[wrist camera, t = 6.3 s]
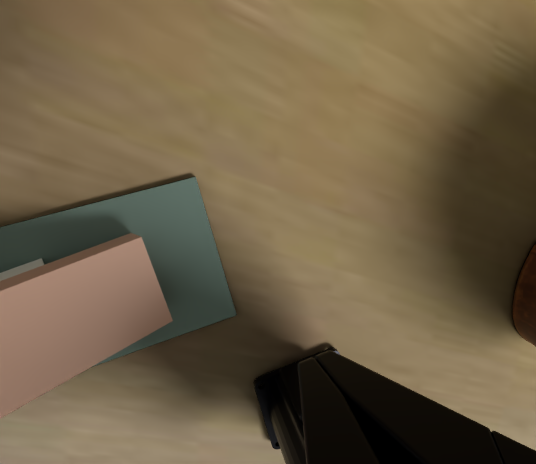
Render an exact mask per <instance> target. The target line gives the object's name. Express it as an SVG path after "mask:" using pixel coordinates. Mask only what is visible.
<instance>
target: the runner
mask: <svg viewBox="0 0 536 464" xmlns="http://www.w3.org/2000/svg"><path fill="white" fill-rule="evenodd" d="M129 233H133V234H135V235H138V236H141V237H142V240H143V242H144V245H145V248H146V250H147V253H148V256H149V258H150V261H151V264H152V266H153V269H154V272H155V274H156V277H157V280H158V282H159V285H160V288H161V290H162V293H163V296H164V298H165V301H166V304H167V306H168V309H169V312H170V314H171V317H172V320H173V321H172V322H170V323H168V324H166V325H165V326H163V327H161V328H159V329H157V330H156V331H154V332H152V333H150V334H149V335H147V336H145V337H143V338H142V339H140V340H138V341H136V342H135V343H133V344H131V345H129V346H127V347H126V348H124V349H122V350H120V351H119V352H117V353H115V354H113V355H112V356H110V357H108V358H106V359H105V360H103V361H101V362H99V363H97V364H96V365H98V364H101V363H104V362H107V361H110V360H112V359H115V358H118V357H121V356H124V355H126V354H129V353H132V352H135V351H138V350H140V349H143V348H146V347H149V346H152V345H154V344H157V343H160V342H163V341H166V340H168V339H171V338H174V337H177V336H180V335H182V334H185V333H188V332H191V331H194V330H196V329H199V328H202V327H205V326H208V325H210V324H213V323H216V322H219V321H222V320H224V319H227V318H230V317H233V316H236V315H237V314H236V311H235V308H234V304H233V301H232V298H231V294H230V291H229V287H228V284H227V281H226V277H225V274H224V271H223V267H222V264H221V261H220V257H219V254H218V251H217V247H216V244H215V240H214V237H213V234H212V230H211V227H210V224H209V220H208V217H207V214H206V210H205V207H204V204H203V200H202V197H201V193H200V190H199V187H198V183H197V180H196V177H192V178H188V179H184V180H180V181H176V182H172V183H169V184H165V185H161V186H157V187H153V188H149V189H145V190H142V191H138V192H134V193H130V194H126V195H122V196H119V197H115V198H111V199H107V200H103V201H99V202H95V203H92V204H88V205H84V206H80V207H76V208H72V209H68V210H65V211H61V212H57V213H53V214H49V215H45V216H41V217H38V218H34V219H30V220H26V221H22V222H18V223H15V224H11V225H7V226H3V227H0V273H1V272H4V271H7V270H10V269H12V268H15V267H18V266H21V265H24V264H26V263H29V262H32V261H35V260H38V259H41V258H42V260H43V262H44V264H48V263H51V262H53V261H56V260H59V259H61V258H64V257H67V256H70V255H72V254H75V253H78V252H80V251H83V250H86V249H89V248H91V247H94V246H97V245H99V244H102V243H105V242H107V241H110V240H113V239H116V238H118V237H121V236H124V235H126V234H129ZM96 365H94V366H96ZM92 367H93V366H92Z"/></svg>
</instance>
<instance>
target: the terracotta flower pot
mask: <svg viewBox="0 0 536 464" xmlns="http://www.w3.org/2000/svg"><path fill="white" fill-rule="evenodd" d="M513 320H514V324H515V327H516V329H517V331H518V332H519V334H520V335H521V336H522V338H524V339H525V340H526V341H528V342H530V343H532V344H533V345H535V346H536V244H535V245H534V247H533V248H532V249H531V251H530V253H529V256H528V257H527V259H526V261H525V263H524V265H523V267H522V270H521V272H520V275H519V278H518V281H517V285H516V289H515V294H514V300H513Z"/></svg>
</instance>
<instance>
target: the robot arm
mask: <svg viewBox="0 0 536 464" xmlns="http://www.w3.org/2000/svg"><path fill="white" fill-rule="evenodd" d="M261 383H263V385H260V384H261ZM259 385H260V386H259ZM254 388H255V391H256V394H257V398H258V401H259V404H260V408H261V411H262V414H263V417H264V421H265V424H266V427H267V431H268V434H269V437H270V441H271V444H272V447H273V448H274V449H281V451H282V454H283V457H284V460H285V463H286V464H536V451H535V450H533V449H531V448H529V447H527V446H525V445H522V444H520V443H518V442H516V441H514V440H512V439H510V438H508V437H506V436H504V435H502V434H500V433H498V432H496V431H492V432H491V431H490V429H489V428H487V427H485V426H483V425H481V424H479V423H477V422H475V421H473V420H471V419H469V418H467V417H465V416H463V415H461V414H459V413H457V412H455V411H453V410H451V409H449V408H447V407H445V406H443V405H441V404H439V403H437V402H435V401H433V400H431V399H429V398H427V397H425V396H423V395H421V394H419V393H416V392H414V391H412V390H410V389H408V388H406V387H404V386H402V385H400V384H398V383H396V382H394V381H392V380H390V379H388V378H386V377H384V376H382V375H380V374H378V373H376V372H374V371H372V370H370V369H368V368H366V367H364V366H362V365H360V364H358V363H356V362H354V361H352V360H350V359H348V358H346V357H344V356H341V355H340V354H339V352H338V351H337V350H336V349H335V348H329V349H327V350H324V351H322V352H319V353H317V354H314V355H312V356H309V357H307V358H304V359H302V360H299V361H297V362H294V363H292V364H289V365H287V366H285V367H282V368H280V369H277V370H275V371H272V372H270V373H267V374H265V375H262V376H260V377H258V378H256V379H255V381H254Z"/></svg>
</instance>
